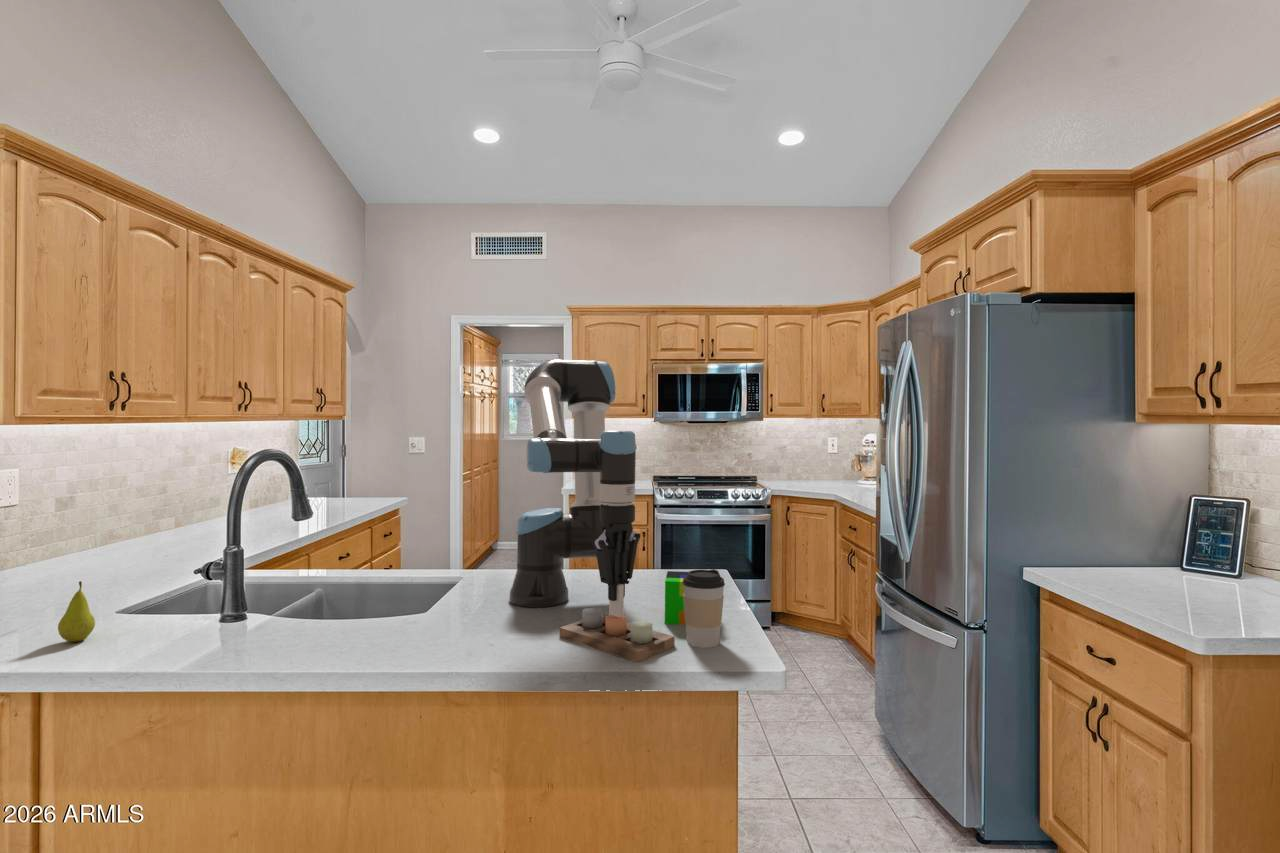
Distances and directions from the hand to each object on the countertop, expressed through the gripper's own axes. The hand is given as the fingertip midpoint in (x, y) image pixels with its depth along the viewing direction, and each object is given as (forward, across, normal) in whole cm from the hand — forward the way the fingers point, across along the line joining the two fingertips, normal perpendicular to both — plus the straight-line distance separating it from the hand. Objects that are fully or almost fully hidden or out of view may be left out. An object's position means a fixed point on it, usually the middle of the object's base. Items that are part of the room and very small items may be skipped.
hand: (616, 614), depth 133 cm
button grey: (+4, 0, +7) cm, 8 cm away
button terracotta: (+4, 0, 0) cm, 4 cm away
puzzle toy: (+6, +23, -2) cm, 24 cm away
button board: (+6, 0, 0) cm, 6 cm away
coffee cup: (+6, +12, -14) cm, 19 cm away
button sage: (+4, 0, -7) cm, 8 cm away
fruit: (+6, -74, +83) cm, 111 cm away
